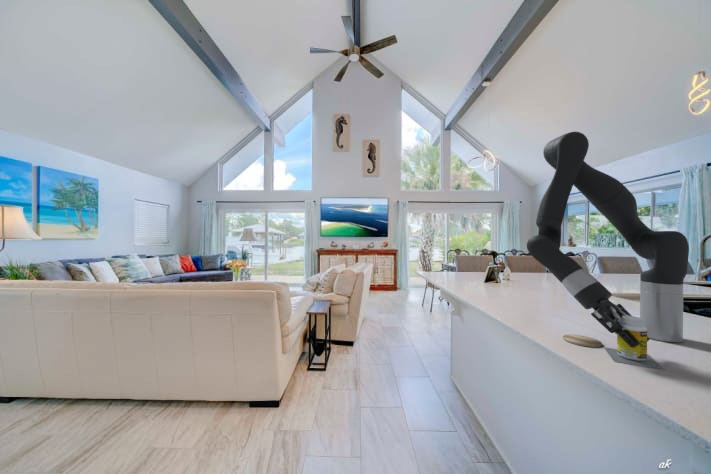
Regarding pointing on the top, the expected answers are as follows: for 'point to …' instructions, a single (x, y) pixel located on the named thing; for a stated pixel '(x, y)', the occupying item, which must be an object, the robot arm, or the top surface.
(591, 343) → the cork coaster
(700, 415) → the top surface
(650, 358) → the gray board
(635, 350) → the supplement bottle
